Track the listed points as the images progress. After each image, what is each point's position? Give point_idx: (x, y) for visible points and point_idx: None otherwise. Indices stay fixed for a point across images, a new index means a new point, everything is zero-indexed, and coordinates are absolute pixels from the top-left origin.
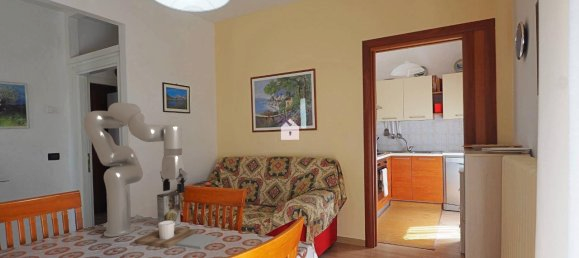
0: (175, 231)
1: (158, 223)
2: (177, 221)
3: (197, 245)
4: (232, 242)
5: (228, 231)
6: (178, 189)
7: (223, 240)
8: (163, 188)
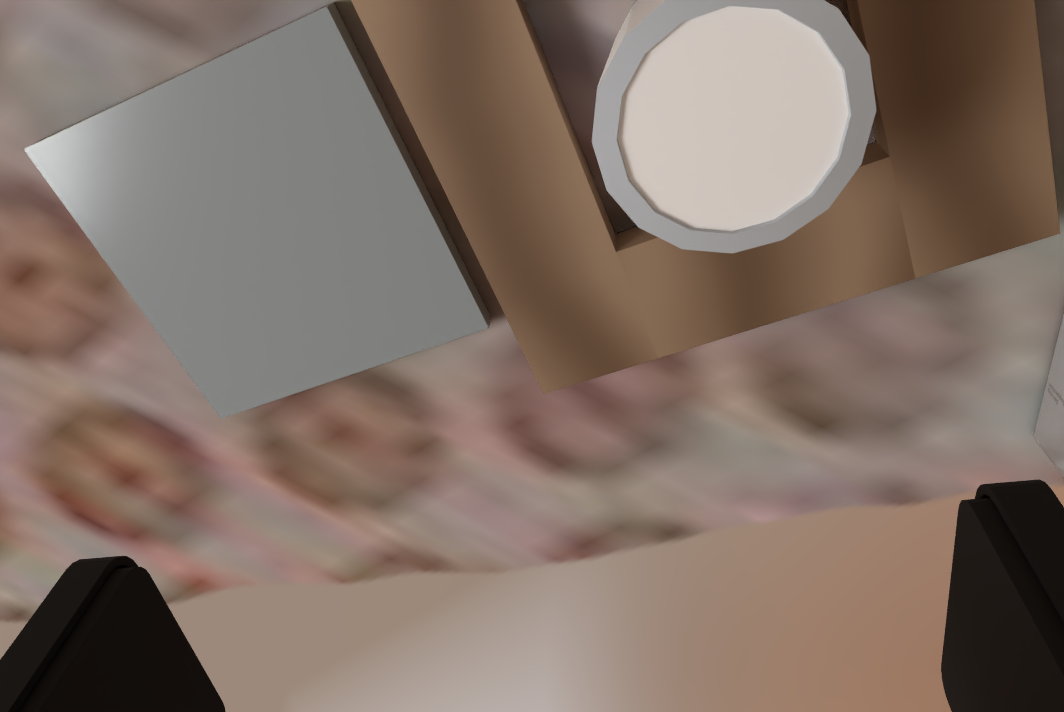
0: None
1: (827, 5)
2: (1060, 424)
3: (79, 148)
4: (13, 419)
5: (324, 555)
6: (11, 681)
7: (120, 403)
8: (1057, 559)
